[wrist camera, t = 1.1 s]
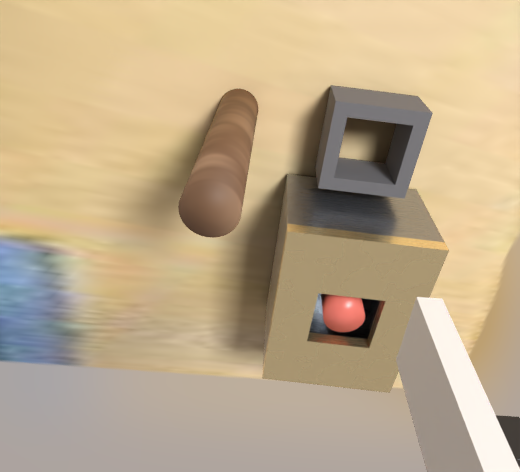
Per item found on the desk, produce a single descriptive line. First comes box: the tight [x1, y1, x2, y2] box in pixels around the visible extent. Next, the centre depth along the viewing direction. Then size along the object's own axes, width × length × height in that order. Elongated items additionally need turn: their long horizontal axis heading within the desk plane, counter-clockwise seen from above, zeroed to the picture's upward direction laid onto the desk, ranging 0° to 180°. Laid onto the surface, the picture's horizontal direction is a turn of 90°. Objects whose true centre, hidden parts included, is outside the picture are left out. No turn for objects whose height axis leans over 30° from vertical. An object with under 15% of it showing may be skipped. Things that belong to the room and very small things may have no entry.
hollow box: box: [262, 174, 449, 393], centre depth 38 cm, size 11×15×9 cm
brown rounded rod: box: [179, 89, 258, 237], centre depth 28 cm, size 3×3×16 cm
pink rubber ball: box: [321, 294, 365, 332], centre depth 36 cm, size 3×3×3 cm
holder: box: [315, 85, 432, 199], centre depth 34 cm, size 7×7×4 cm
